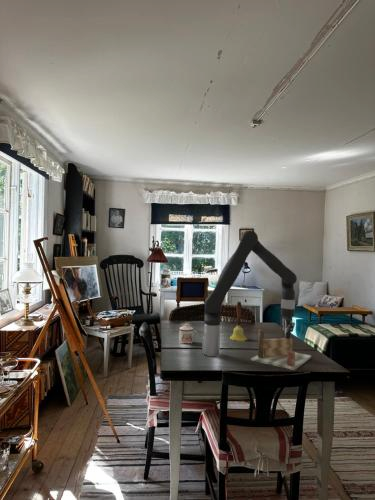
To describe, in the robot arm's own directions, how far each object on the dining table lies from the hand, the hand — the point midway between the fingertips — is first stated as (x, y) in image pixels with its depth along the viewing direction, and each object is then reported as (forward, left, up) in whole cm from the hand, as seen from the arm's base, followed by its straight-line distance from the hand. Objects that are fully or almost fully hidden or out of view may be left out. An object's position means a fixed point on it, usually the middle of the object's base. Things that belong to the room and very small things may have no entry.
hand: (286, 337), depth 196 cm
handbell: (-40, +18, -11) cm, 45 cm away
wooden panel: (-3, -4, -10) cm, 11 cm away
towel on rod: (-1, -5, -11) cm, 12 cm away
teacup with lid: (-60, -12, -11) cm, 62 cm away
